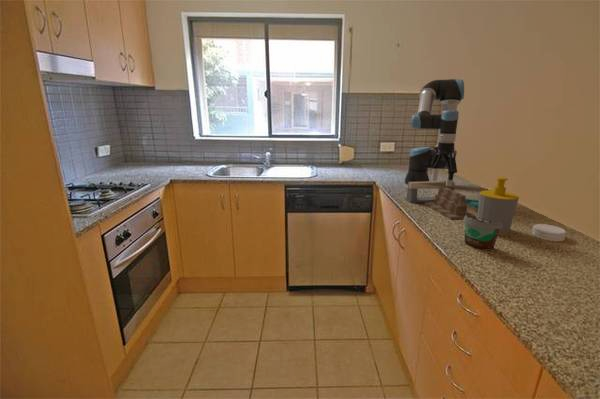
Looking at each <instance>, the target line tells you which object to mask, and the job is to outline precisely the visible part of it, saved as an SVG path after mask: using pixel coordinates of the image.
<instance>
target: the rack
mask: <svg viewBox="0 0 600 399" xmlns="http://www.w3.org/2000/svg"><path fill="white" fill-rule="evenodd" d="M449 189H451V190H453V191H455V187H454V188H449ZM418 190H419V189H409V188H408V187H407V191H406V197H405V198H404V200H405V201H407V202H408V203H410V204H411V203H412V204H413V203H414V204H415V203H417V204H418V203H425V202H434V200H435V196H419V197H418Z"/></svg>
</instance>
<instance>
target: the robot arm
mask: <svg viewBox="0 0 600 399" xmlns="http://www.w3.org/2000/svg"><path fill="white" fill-rule="evenodd" d="M464 97H465V81H464V80H463V79H459V78H458V79H456V78H453V79H449V78H448V79H434V80H432V81H429V82H428V83H426V84H424V85H423V87H422V88H421V89H420V91H419V93H418V99H419V102H418V107H417V111H416V114H413V115H412V117H411V125H410V127H411V128H412V129H415V130H416V129H418V130H421V129H423V130H438V134H437V135H438V136H437V143H436V145H435V146H433V149H431V147H430V146H422V147H421V146H420V147H415V148H414V147H413V148H412V149H410V152H409V160H408V161H409V162H408V170H407V173H406V176H405V177H404V184H405V185H408V182H426V181H430V178H429V174H428V173H429V172H428V171H429V169H432V172H431V173H432V174H431V181H438V176H439V175H438V174H439V170H447V173H446V175H447V176H446V180H445V181H446V186H452V181H453V180H454V175H455V174H457V173H458V168H457V161H456V159H457V153H458V152H457V150H456V149H455V145H456V144H455V142H456V137H457V129H458V123H459V122H458V121H459V118H460V117H459V115H460V114H459V110H457V109H458V105H459V104H461V101H463V100H464ZM434 100H437V101H439V104H440V105H441V111H440V114H433V113H432V111H433V105H434Z"/></svg>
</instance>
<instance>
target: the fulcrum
mask: <svg viewBox="0 0 600 399" xmlns="http://www.w3.org/2000/svg"><path fill="white" fill-rule="evenodd" d="M434 197H435V200H434V202H424V205H425V206H426V207H428V208H430V209H431V210H433V211H435V212H437V213H439V214H440V215H442V216H443V217H446V218H447V219H449V220H463V219H464V217H465V215H466V214H467V217H472V218H477V215H476V214H474V213H472V212H469V211H467V209H468V204H467V203H465V198H467V196H466V195H465V194H463V193H460V192H459V191H458V192H457V191H456V190H454V191H453V190H451V189H449V188H446V187H444V186H439V188H438V192H437V194H435V195H434Z"/></svg>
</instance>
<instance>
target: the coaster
mask: <svg viewBox="0 0 600 399" xmlns="http://www.w3.org/2000/svg"><path fill="white" fill-rule="evenodd" d="M531 234H532V235H533V237H536V238H538V239H540V240H545V241H549V242H563V241H565V239H566V234H567V231H566V229H564V228H562V227H559V226H556V225H551V224H544V223H539V224H538V223H537V224H534V225H533V226H532V230H531Z"/></svg>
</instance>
